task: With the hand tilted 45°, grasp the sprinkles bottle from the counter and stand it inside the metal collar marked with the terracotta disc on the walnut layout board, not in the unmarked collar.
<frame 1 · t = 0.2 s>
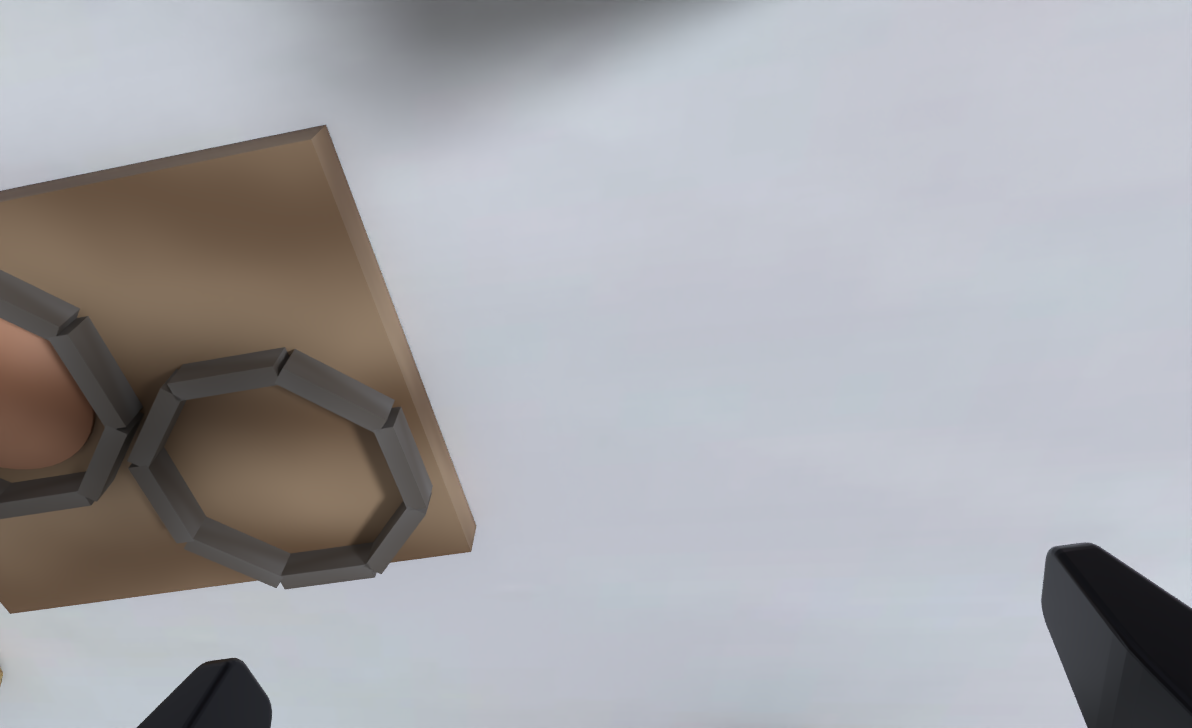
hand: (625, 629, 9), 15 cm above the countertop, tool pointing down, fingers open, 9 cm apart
layout board: (151, 398, 26), on the countertop
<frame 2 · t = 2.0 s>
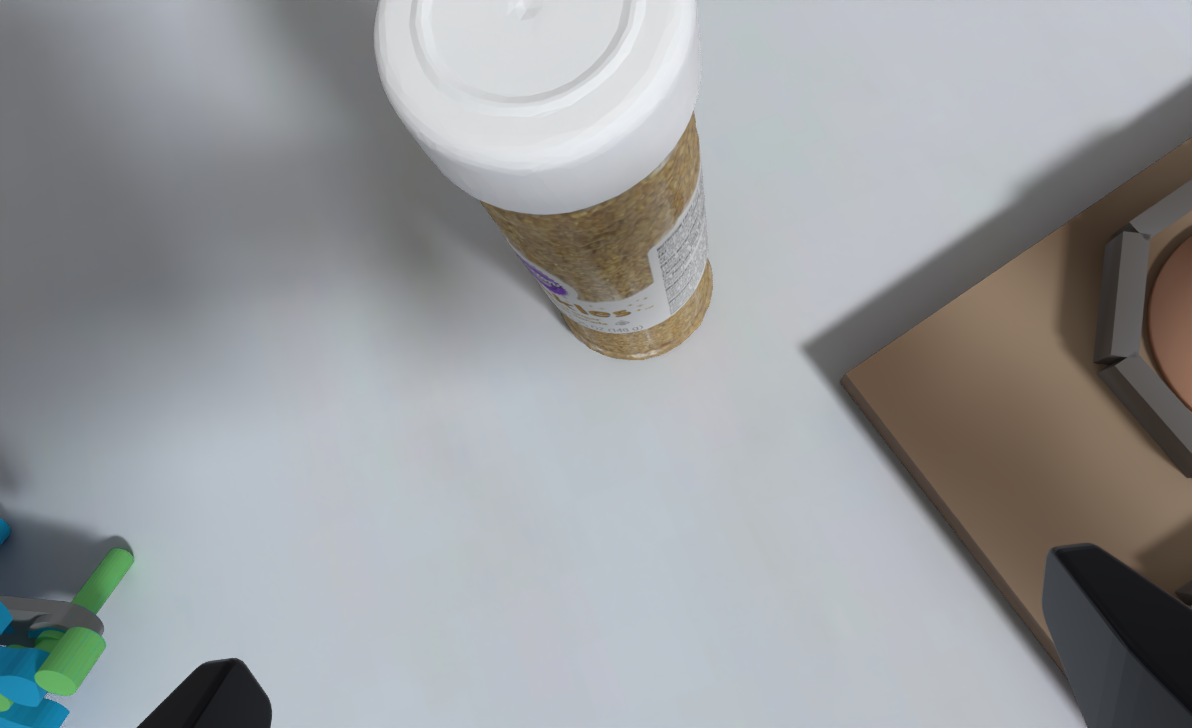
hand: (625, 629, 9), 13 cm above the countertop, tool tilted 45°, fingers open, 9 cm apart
sprinkles bottle: (638, 289, 24), on the countertop
gear: (14, 639, 25), on the countertop
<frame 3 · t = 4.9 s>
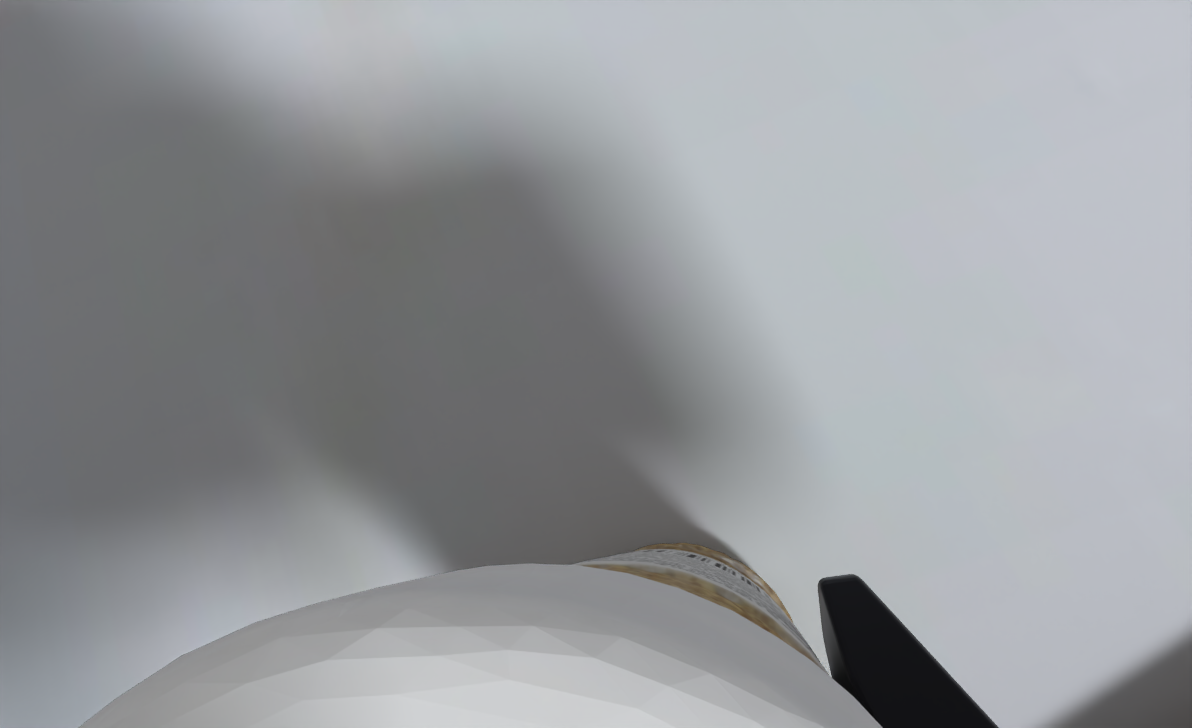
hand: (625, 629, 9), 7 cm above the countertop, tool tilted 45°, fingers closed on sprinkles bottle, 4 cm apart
sprinkles bottle: (682, 664, 15), on the countertop, touching gripper
when the fingers open (9 cm above the countertop, at t = 8.5 s): sprinkles bottle drops 1 cm, resting on layout board.
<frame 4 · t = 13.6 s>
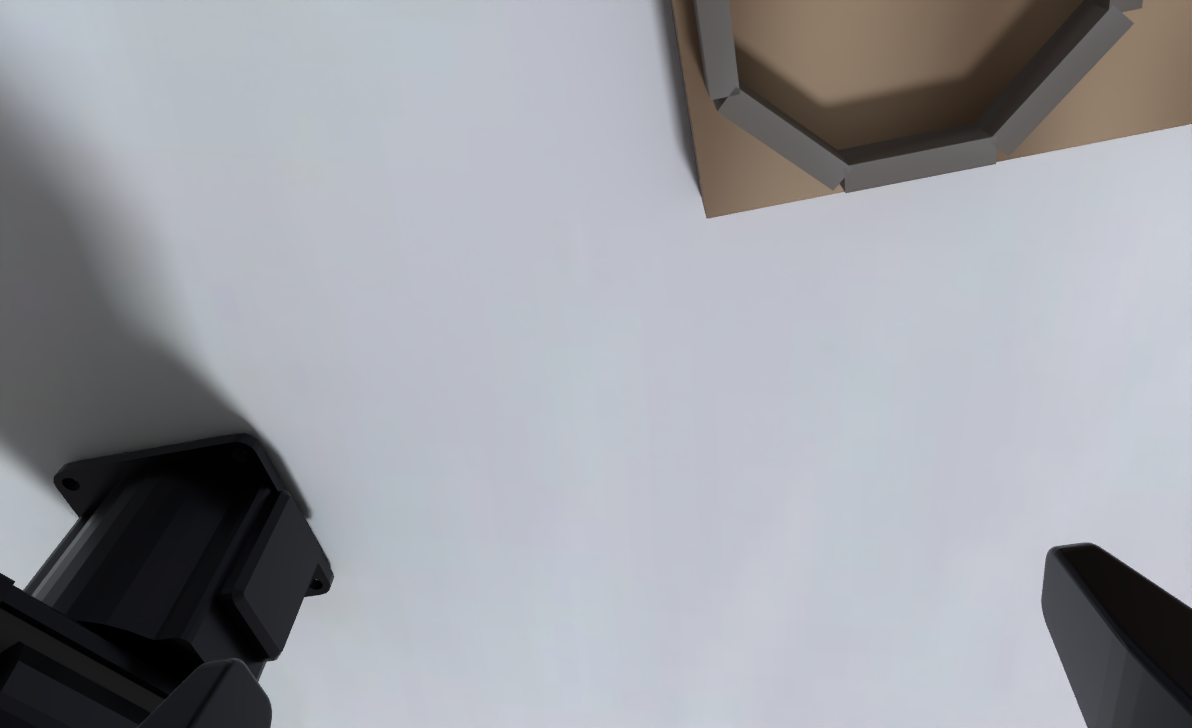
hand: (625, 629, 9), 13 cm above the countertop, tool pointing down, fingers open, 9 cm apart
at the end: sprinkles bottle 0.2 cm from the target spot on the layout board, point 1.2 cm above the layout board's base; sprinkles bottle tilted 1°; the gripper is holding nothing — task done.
